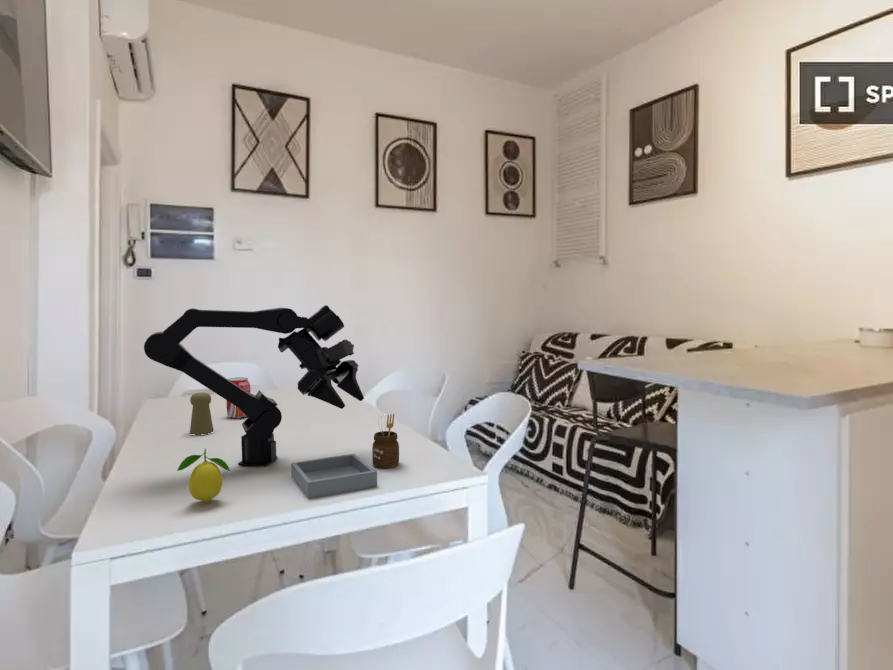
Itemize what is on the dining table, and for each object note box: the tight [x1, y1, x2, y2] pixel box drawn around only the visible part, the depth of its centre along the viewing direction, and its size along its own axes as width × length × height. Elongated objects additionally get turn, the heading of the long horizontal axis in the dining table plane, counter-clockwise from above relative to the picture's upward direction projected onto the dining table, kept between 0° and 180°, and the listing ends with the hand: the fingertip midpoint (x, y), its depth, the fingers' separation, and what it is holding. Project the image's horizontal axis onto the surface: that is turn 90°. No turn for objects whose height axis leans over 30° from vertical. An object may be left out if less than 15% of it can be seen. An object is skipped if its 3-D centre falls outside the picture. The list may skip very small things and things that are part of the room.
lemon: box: [176, 448, 230, 504], centre depth 96 cm, size 7×6×10 cm
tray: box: [290, 453, 378, 500], centre depth 108 cm, size 14×14×3 cm
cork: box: [189, 392, 214, 436], centre depth 146 cm, size 6×6×11 cm
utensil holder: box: [371, 413, 400, 469], centre depth 118 cm, size 6×6×12 cm
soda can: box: [225, 376, 251, 419], centre depth 166 cm, size 7×7×12 cm
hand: (353, 403), depth 120 cm, fingers open, 9 cm apart
